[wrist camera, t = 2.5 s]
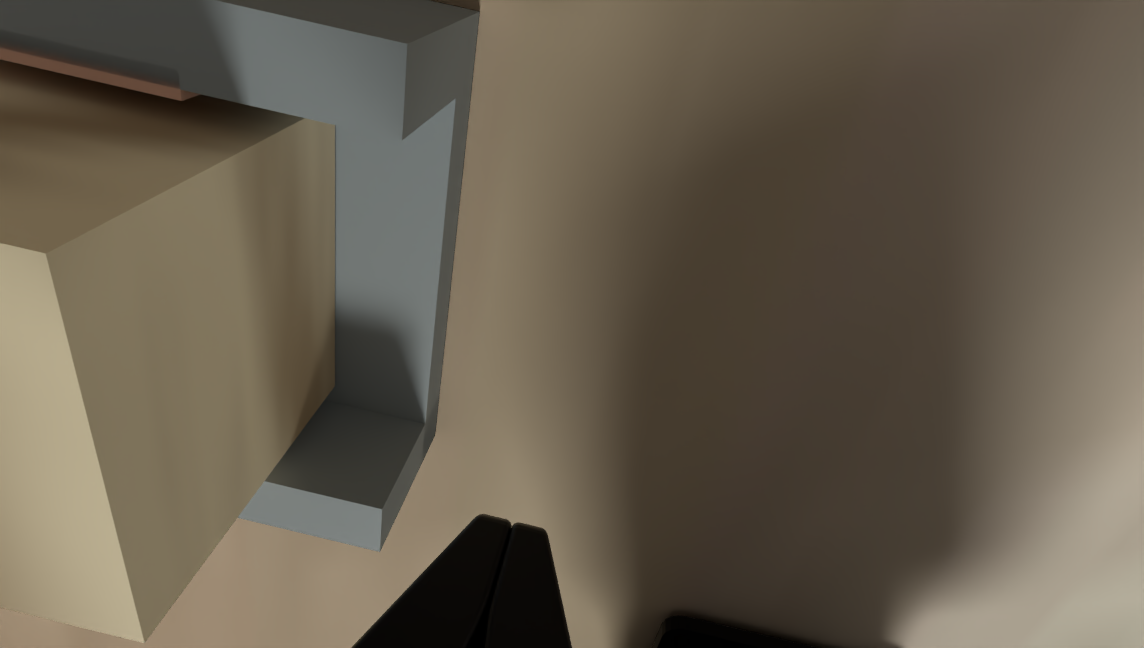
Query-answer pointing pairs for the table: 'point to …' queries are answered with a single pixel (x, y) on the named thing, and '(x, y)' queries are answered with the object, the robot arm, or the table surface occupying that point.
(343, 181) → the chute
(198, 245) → the block
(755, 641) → the robot arm
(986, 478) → the table surface
